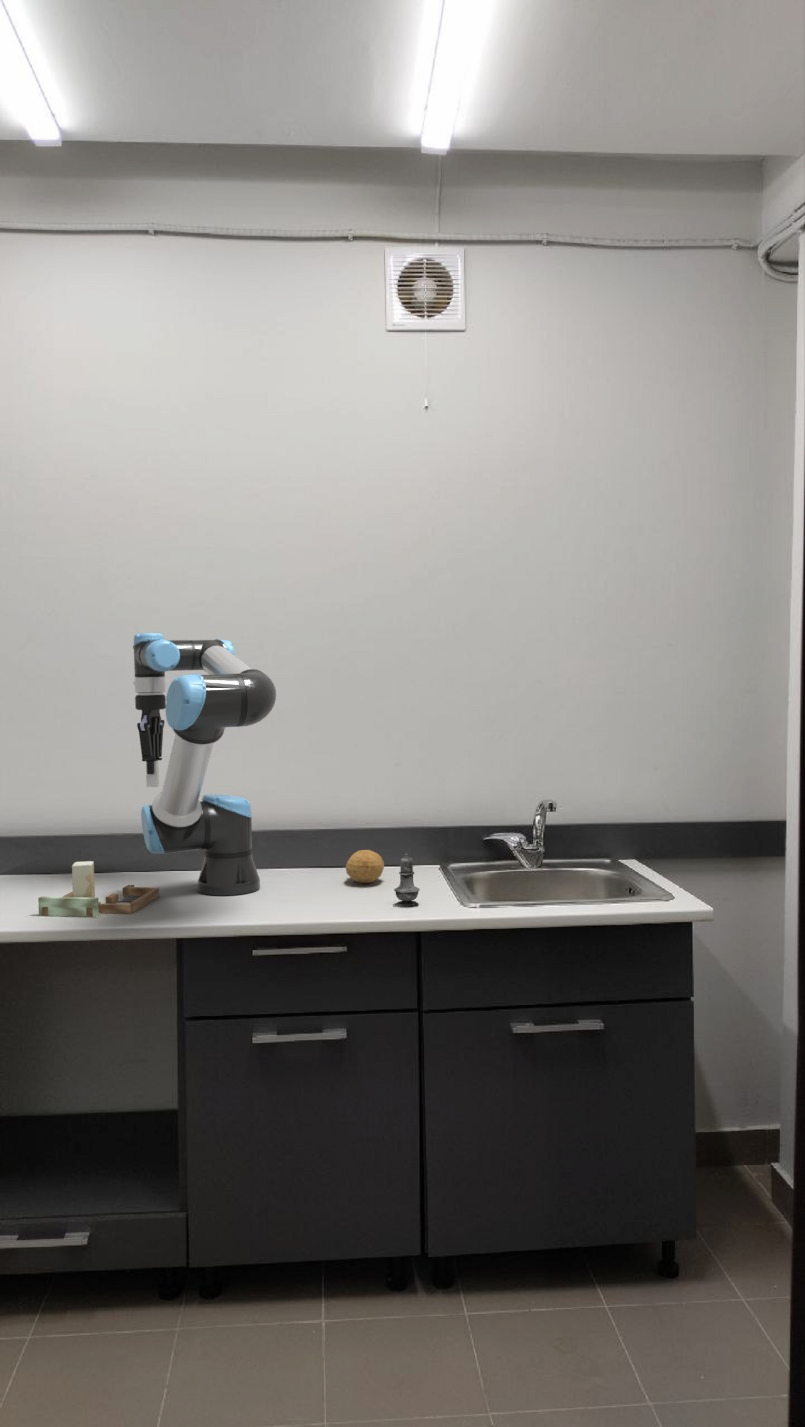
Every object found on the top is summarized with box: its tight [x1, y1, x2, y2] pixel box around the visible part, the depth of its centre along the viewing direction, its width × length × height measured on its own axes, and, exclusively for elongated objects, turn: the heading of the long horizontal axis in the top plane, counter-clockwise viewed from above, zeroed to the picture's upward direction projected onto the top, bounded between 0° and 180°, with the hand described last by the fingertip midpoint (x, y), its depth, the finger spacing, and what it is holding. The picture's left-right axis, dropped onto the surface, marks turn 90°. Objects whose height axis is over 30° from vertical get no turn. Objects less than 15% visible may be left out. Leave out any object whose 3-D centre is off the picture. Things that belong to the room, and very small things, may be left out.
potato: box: [345, 849, 385, 884], centre depth 278 cm, size 10×14×8 cm
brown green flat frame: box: [37, 884, 160, 918], centre depth 258 cm, size 20×24×4 cm
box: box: [71, 860, 96, 898], centre depth 251 cm, size 5×4×11 cm
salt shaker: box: [393, 852, 421, 908], centre depth 254 cm, size 6×6×12 cm
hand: (152, 786), depth 282 cm, fingers closed
